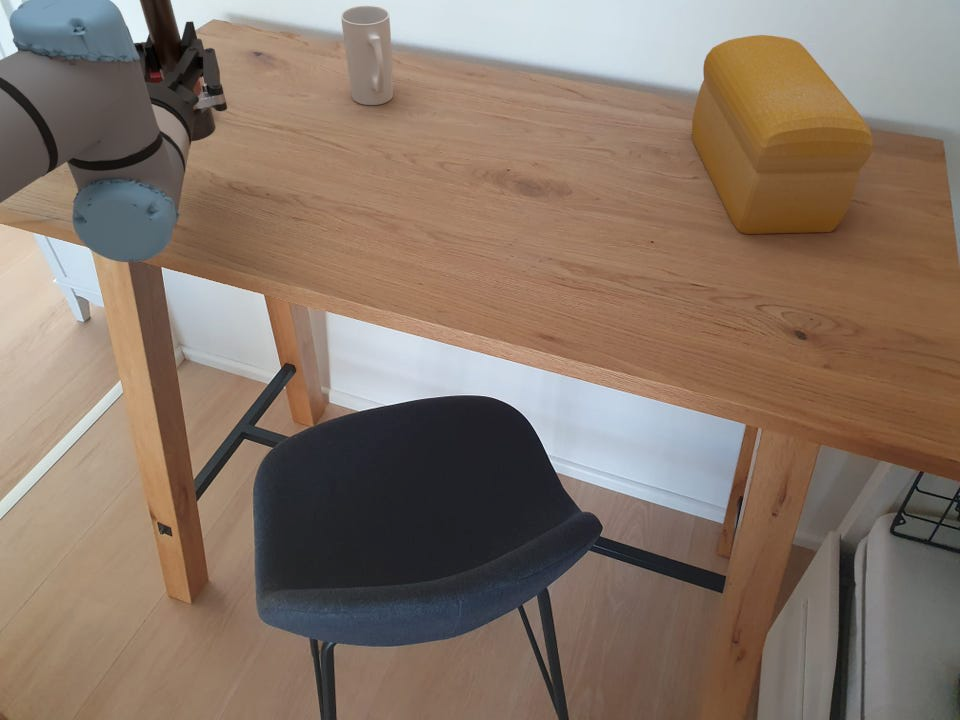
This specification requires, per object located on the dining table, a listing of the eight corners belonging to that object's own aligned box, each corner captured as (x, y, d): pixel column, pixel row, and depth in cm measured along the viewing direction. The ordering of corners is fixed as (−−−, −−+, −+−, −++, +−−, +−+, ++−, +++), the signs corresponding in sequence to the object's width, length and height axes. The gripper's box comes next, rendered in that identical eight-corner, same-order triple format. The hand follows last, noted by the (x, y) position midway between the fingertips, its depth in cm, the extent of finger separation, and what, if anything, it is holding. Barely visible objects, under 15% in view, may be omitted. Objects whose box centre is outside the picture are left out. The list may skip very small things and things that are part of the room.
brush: (163, 143, 88) (119, -1, 77) (169, 120, 92) (127, -21, 81) (213, 140, 89) (176, -3, 78) (217, 116, 93) (182, -23, 81)
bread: (841, 233, 92) (889, 117, 82) (735, 235, 92) (770, 119, 81) (775, 131, 109) (808, 25, 99) (686, 133, 109) (710, 26, 98)
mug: (345, 89, 117) (335, 9, 108) (387, 82, 119) (381, 2, 110) (362, 120, 110) (354, 36, 102) (407, 112, 112) (402, 29, 104)
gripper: (72, 178, 73) (113, 70, 90) (244, 165, 75) (253, 62, 92) (41, 105, 68) (91, 4, 84) (227, 93, 70) (240, -3, 86)
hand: (175, 34), depth 88 cm, fingers closed on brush, 3 cm apart
